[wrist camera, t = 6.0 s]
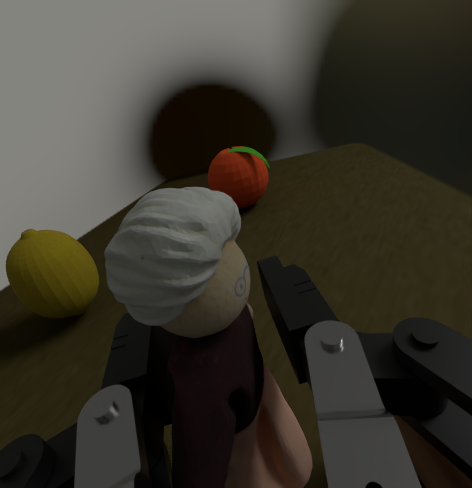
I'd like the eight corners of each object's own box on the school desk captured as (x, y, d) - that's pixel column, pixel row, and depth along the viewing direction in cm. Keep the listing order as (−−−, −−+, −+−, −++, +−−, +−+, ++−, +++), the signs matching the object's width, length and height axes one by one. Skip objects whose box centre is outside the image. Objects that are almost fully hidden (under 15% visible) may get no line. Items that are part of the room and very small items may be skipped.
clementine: (290, 194, 36) (282, 133, 32) (261, 222, 31) (248, 155, 28) (237, 192, 41) (224, 138, 37) (205, 216, 36) (187, 158, 32)
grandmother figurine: (348, 611, 9) (302, 290, 3) (224, 628, 9) (-95, 374, 3) (292, 381, 16) (240, 131, 9) (221, 394, 16) (122, 161, 10)
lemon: (114, 321, 23) (60, 232, 19) (39, 351, 22) (-34, 263, 18) (115, 283, 28) (72, 205, 24) (53, 306, 27) (-3, 229, 23)
